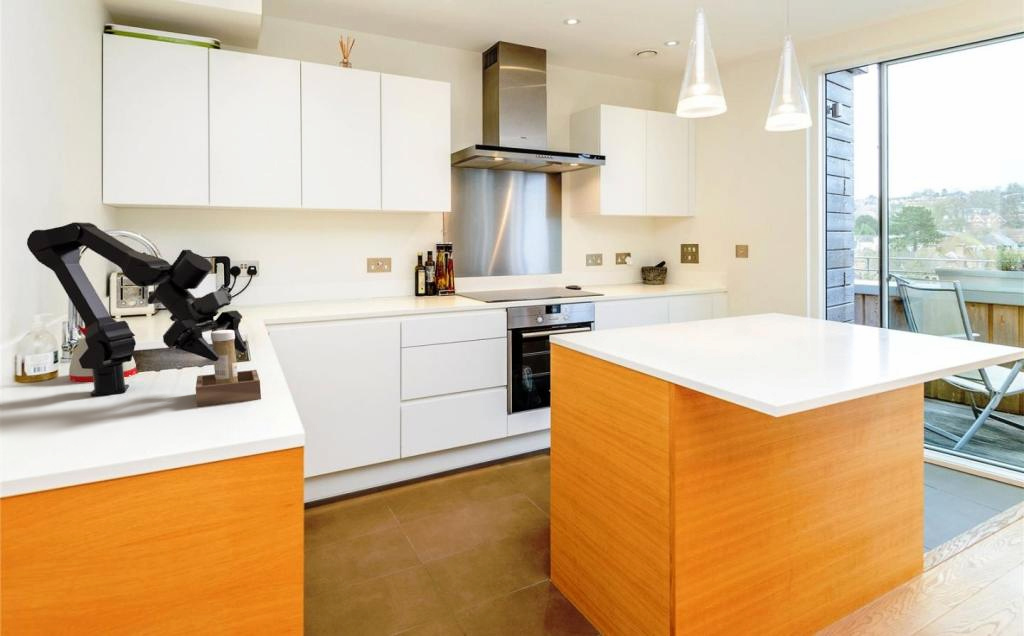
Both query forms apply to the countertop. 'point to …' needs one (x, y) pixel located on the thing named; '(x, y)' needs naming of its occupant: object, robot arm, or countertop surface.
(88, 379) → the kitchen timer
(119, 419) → the countertop surface
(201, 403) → the walnut crate
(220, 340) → the sprinkles bottle
